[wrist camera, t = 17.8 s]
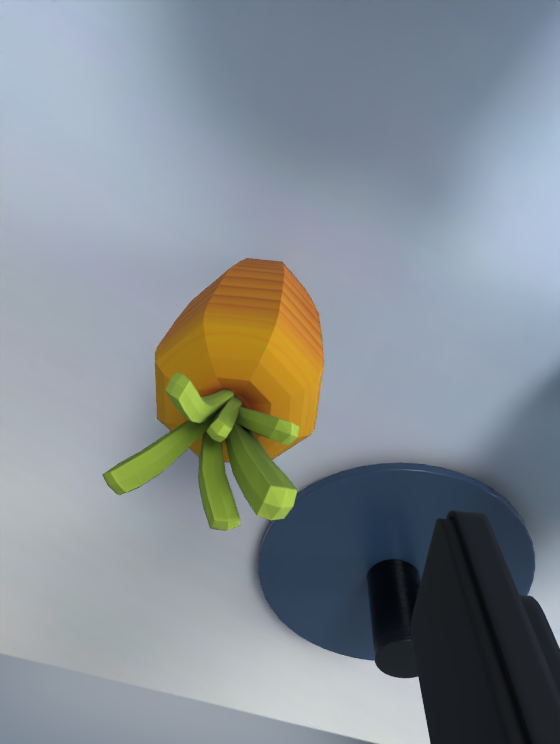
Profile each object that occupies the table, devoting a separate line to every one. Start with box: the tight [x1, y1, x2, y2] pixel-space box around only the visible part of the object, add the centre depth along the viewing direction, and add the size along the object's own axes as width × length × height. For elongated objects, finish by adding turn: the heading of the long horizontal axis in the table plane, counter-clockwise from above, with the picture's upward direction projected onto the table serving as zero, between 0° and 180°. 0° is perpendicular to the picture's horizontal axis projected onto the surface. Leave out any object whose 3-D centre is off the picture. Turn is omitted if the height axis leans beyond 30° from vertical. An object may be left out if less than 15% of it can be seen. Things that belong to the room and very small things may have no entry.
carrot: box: [103, 258, 324, 531], centre depth 17 cm, size 5×5×15 cm
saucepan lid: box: [258, 463, 535, 678], centre depth 29 cm, size 16×16×6 cm
